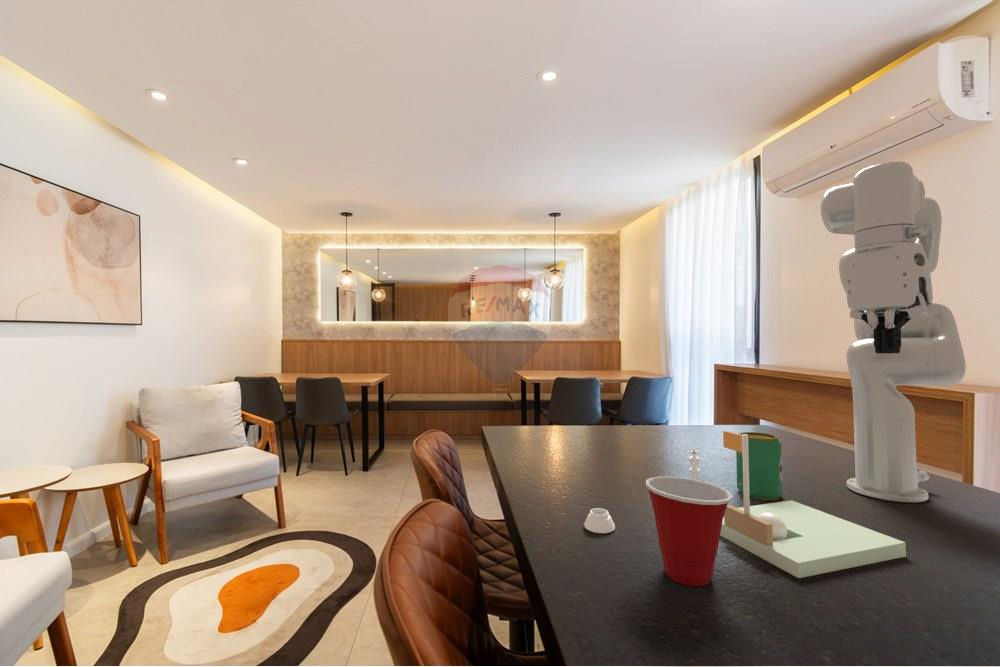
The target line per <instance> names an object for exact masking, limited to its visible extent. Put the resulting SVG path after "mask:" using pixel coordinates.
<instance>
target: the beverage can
mask: <svg viewBox="0 0 1000 667" xmlns="http://www.w3.org/2000/svg"><path fill="white" fill-rule="evenodd" d="M738 434H739V435H742V434H747V435H748V457H749V497H750V499H753V498H754V499H753V500H759V501H767V500H772V501H777V500H780V498H781V496H782V494H783V467H782V466H783V464H782V463H783V462H782V460H783V459H782V443H781V442H780V440H779V439H778V436H777V435H774V434H771V433H767V432H757V431H745V432H739V433H738ZM735 454H736V456H735V457H736V461H735V462H736V487H737V490H738V491H739V494H740V495H742V496H743V457H742V452H738V451H735Z"/></svg>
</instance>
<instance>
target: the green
mask: <svg viewBox="0 0 1000 667" xmlns="http://www.w3.org/2000/svg"><path fill="white" fill-rule="evenodd" d="M722 434H723V435H722V436H723V438H722V439H723V448H725V449H728V450H733V451H735V452H736V451H738V452H742V457H743V495H742V496H743V497H742V498H743V507H735V506H733V505H731V504H728V505H727V509H726V510H725V515H724V517H723V521H722V527H721V533H720V537H722V538H724V539H727V540H728V541H729V542H732V543H733V544H735V545H737V546H739V547H741V548H742V549H744V550H747V551H748V552H750V553H751V554H753V555H755V556H757V557H759V558H761V559H762V560H764V561H766V562H768V563H770V564H771V565H773V566H776V568H779V569H781V570H783V571H784V572H786V573H788V574H789V575H791V576H794V577H795V578H797V579H802V578H807V577H812V576H816V575H817V576H818V575H822V574H825V573H832V572H836V571H837V572H838V571H841V570H846V569H850V568H857V567H862V566H865V565H873V564H876V563H881V562H885V561H890V560H895V559H901V558H906V557H907V550H906V549H907V546H906V544H907V543H906V542H905V541H903V540H901V539H897V538H895V537H892V536H889V535H887V534H883V533H881V532H878V531H875V530H874V529H870V528H867V527H864V526H862V525H860V524H857V523H854V522H852V521H848V520H846V519H843V518H841V517H837V516H835V515H832V514H829V513H827V512H825V511H822V510H819V509H816V508H813V507H811V506H808V505H805V504H803V503H799V502H797V501H795V500H785V501H784V500H783V501H777V502H771V503H770V502H769V503H763V504H756V505H751V504H750V503H751V500H750V499H751V498H749V457H748V435H747V434H742V435H739V433H734V432H729V431H727V430H723V431H722ZM763 512H770V513H773V514H776V515H777V516H779V517H780V518H781V519H782V520H783V521H784V523H785V524H786V527H787V537H786V539H785V540H779V541H773V529H772V524H771V523H769V522H767V521H765V520H762V519H760V518H758V517H756V516H757V515H758V514H760V513H763Z"/></svg>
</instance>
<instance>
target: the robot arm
mask: <svg viewBox="0 0 1000 667" xmlns="http://www.w3.org/2000/svg"><path fill="white" fill-rule="evenodd" d="M913 170H914V169H913V167H912V166H911V164H910V163H908V162H905V161H900V160H899V161H886V162H881V163H876V164H874V165H871V166H868V167H866V168H863V169H862V170H860V171H858V172H857V173H856V174H855V176H854V178H853V180H852V183H846V184H842V185H837V186H834V187H832V188H831V187H830V188H829V189H828V190H826V191H825V192H824V194H823V195H822V199H821V202H820V216H821V219H822V222H823V224H824V227H825V229H826V230H827V231H828V232H829V233H832V234H836V235H838V234H839V235H852V236H854V248H852V249H849V250H847V251H846V252H844V253H843V254H842V255H841V257H840V258H839V262H838V271H839V272H838V273H839V279H840V282H841V286H842V288H843V291H844V292H845V293H846V302H847V306H848V309H850V312H849V317H850V318H851V319H853V324H854V325H853V326H854V334H855V338H856V339H857V340H856V341H854V342H852V344H850V345H849V346H848V348H847V350H846V364H847V369H848V374H849V378H850V385H851V390H852V391H851V392H852V406H853V407H852V408H853V410H852V411H853V436H854V437H853V438H854V439H853V440H854V441H853V442H854V468H855V469H854V470H855V477H852V478H851V477H850V478H848V479H847V480H846V487H847V488H848V489H849V490H850V491H853V492H854V493H857V494H860V495H864V496H867V497H871V498H874V499H879V500H884V501H891V502H896V503H897V502H898V503H899V502H900V503H924V502H926V501H928V500H929V492H928V491H927V490H925V489H923V488H921V487H919V483H920V482H925V481H929V479H930V475H929V474H928V472H927V471H925V470H920V471H918V470H917V469H918V468H917V442H916V440H917V439H916V415H915V414H916V412H915V408H914V405H913V404H912V402H911V401H910V400H909V398H907V397H906V396H905V395H904V394H903V393H901V392H900V391H899V390H898V389H897V388H896V387H897V386H920V387H921V386H923V387H926V386H927V387H950V386H955V385H957V384H959V383H960V382H961V381H962V380H963V378H964V377H965V375H966V366H967V365H966V358H965V354H964V350H963V345H962V340H961V338H960V334H959V330H958V326H957V322H956V320H955V316H954V314H953V311H952V310H951V309H950V308H949V307H948V306H946V305H943V304H941V303H935V302H934V303H933V298H934V297H933V296H934V295H933V294H934V293H933V284H932V278H931V277H932V276H931V274H932V273H934V271H935V270H936V269H937V266H938V262H939V253H940V243H941V235H942V234H941V232H942V222H943V221H942V220H943V219H942V211H941V207H940V204H938V202H937V201H936V200H935V199H934V198H931V197H927V196H926V190H925V184H924V183H923V181H922V180H919V178H918V177H917V176H916V175H915V174H914V171H913Z"/></svg>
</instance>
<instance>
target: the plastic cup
mask: <svg viewBox="0 0 1000 667" xmlns="http://www.w3.org/2000/svg"><path fill="white" fill-rule="evenodd" d="M645 485H646V488H647V489H648V491H649V495H650V500H651V504H652V506H651V507H652V509H653V514H654V520H655V527H656V532H657V538H658V539H657V540H658V544H659V550H660V551H661V558H662V565H663V569H664V571H665V575H666V576H667V577H668V578H669V579H671V580H672V581H675V583H678V584H681V585H684V586H690V587H691V586H692V587H703V586H706V585H709V584H710V582H711V581H712V578H713V576H714V570H715V562H716V558H717V555H718V549H719V544H720V538H721V536H720V533H721V527H722V521H723V517H724V515H725V510H726V509H727V505H729V504H730V502H731V501H732V500H733V497H734V496H733V495H732V494H731V492H730V491H728V490H726V489H725V488H722V487H720V486H719V485H718V486H717V485H715V484H711V483H709V482H704V481H700V480H698V481H696V480H692V479H690V478H684V477H679V476H678V477H676V476H656V477H650V478H647V479H646V480H645Z"/></svg>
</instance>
